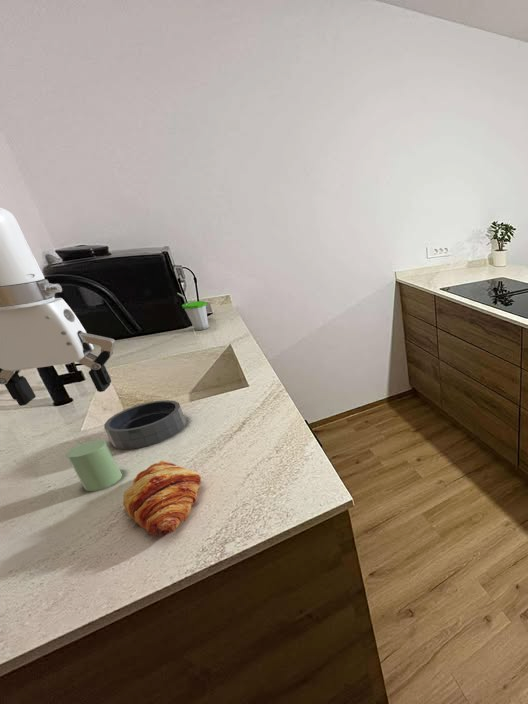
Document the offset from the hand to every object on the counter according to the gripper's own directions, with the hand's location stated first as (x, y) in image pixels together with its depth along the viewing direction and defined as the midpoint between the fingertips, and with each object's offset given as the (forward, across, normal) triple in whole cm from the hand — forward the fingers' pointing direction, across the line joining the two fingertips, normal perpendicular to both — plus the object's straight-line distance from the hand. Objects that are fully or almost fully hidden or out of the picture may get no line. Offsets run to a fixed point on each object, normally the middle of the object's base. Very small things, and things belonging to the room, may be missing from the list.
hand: (67, 394), depth 63 cm
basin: (+18, -3, -14) cm, 23 cm away
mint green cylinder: (+18, 0, +2) cm, 18 cm away
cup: (+17, 0, -97) cm, 99 cm away
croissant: (+18, -12, +13) cm, 25 cm away
